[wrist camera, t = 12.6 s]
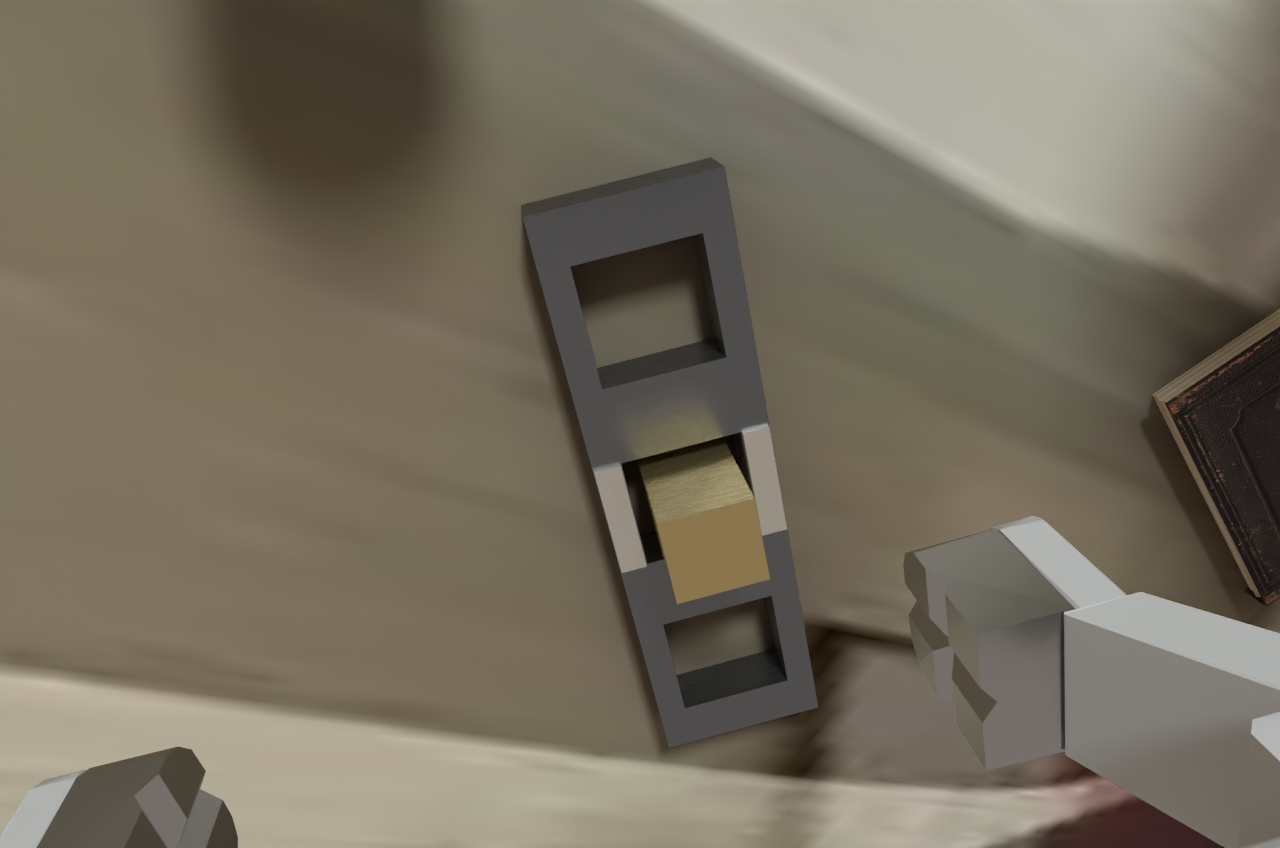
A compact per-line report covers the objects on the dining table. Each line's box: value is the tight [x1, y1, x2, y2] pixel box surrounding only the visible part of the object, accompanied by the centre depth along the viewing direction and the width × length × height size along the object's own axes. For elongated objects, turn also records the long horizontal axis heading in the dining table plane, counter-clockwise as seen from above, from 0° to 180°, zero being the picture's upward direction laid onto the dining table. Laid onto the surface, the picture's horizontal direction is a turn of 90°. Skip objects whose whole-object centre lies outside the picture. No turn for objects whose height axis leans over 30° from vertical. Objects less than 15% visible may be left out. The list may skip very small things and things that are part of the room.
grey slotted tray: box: [521, 158, 818, 748], centre depth 41 cm, size 8×28×3 cm, turn 13°
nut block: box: [637, 437, 770, 604], centre depth 39 cm, size 4×4×7 cm
